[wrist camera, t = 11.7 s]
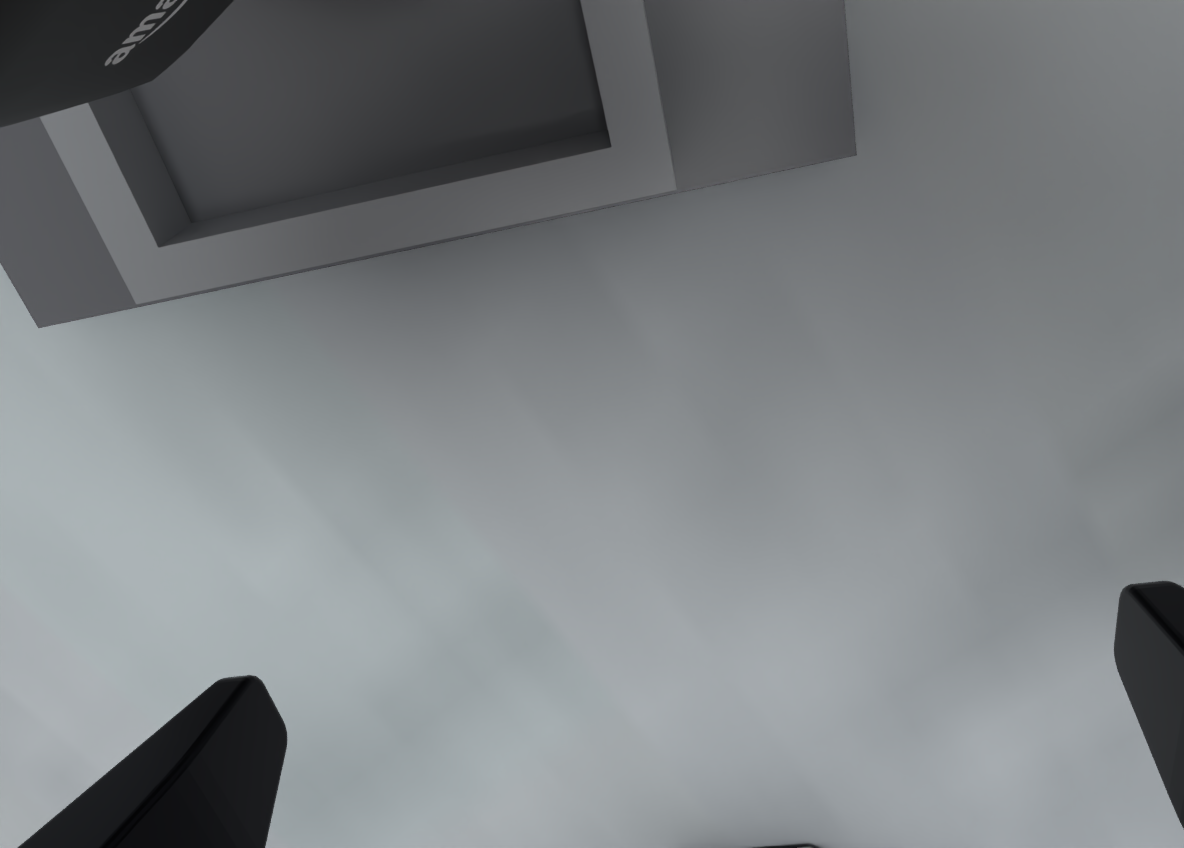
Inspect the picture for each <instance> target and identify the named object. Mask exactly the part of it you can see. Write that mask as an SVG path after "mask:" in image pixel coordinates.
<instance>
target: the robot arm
mask: <svg viewBox="0 0 1184 848" xmlns="http://www.w3.org/2000/svg"><path fill="white" fill-rule="evenodd" d="M1114 656H1115V662H1116V666H1117V669H1118V672H1119V675H1120V677H1121V680H1122V682H1123V685H1124V687H1125V690H1126V692H1127V695H1128V697H1129V700H1130V702H1131V704H1132V707H1133V709H1134V712H1135V714H1136V717H1137V719H1138V722H1139V724H1140V727H1141V729H1142V731H1143V734H1144V736H1145V739H1146V741H1147V744H1148V746H1149V749H1150V751H1151V754H1152V756H1153V758H1154V761H1155V763H1156V766H1157V768H1158V771H1159V773H1160V776H1161V778H1162V781H1163V783H1164V786H1165V788H1166V790H1167V793H1168V795H1169V798H1170V800H1171V802H1172V805H1173V807H1174V809H1175V811H1176V814H1177V816H1178V818H1179V821H1180V823H1181V825H1182V826H1183V828H1184V588H1183V587H1182V586H1180V585H1178V584H1176V583H1173V582H1170V581H1158V582H1148V583H1138V584H1130V585H1128V586H1126V587H1124V588H1123V590H1122V592H1121V594H1120V598H1119V606H1118V615H1117V624H1116V633H1115V642H1114ZM286 748H287V731H286V727H285V724H284V721H283V719H282V717H281V716H280V714H279V712H278V710H277V708H276V706H275V704H274V702H273V700H272V698H271V697H270V695H269V693H268V691H267V689H266V687H265V685H264V683H263V682H262V680H260V679H259V678H258V677H256V676H252V675H247V676H237V677H228V678H223V679H220V680H218V681H217V682H215V683H214V684H213V685H211V686H210V687H209V688H208V689H207V690H205V691H204V692H203V693H202V694H201V695H200V696H198V697H197V698H196V699H195V700H194V701H192V702H191V703H190V704H189V705H188V706H186V707H185V708H184V709H183V710H182V711H180V712H179V713H178V714H177V715H176V716H174V717H173V718H172V719H171V720H170V721H168V722H167V723H166V724H165V725H164V726H163V727H161V728H160V729H159V730H158V731H157V732H155V733H154V734H153V735H152V736H151V737H149V738H148V739H147V740H146V741H145V742H143V743H142V744H141V745H140V746H139V747H137V748H136V749H135V750H134V751H133V752H131V753H130V754H129V755H128V756H127V757H125V758H124V759H123V760H122V761H121V762H119V763H118V764H117V765H116V766H115V767H114V768H112V769H111V770H110V771H109V772H108V773H106V774H105V775H104V776H103V777H102V778H100V779H99V780H98V781H97V782H96V783H94V784H93V785H92V786H91V787H90V788H88V789H87V790H86V791H85V792H84V793H82V794H81V795H80V796H79V797H78V798H76V799H75V800H74V801H73V802H72V803H70V804H69V805H68V806H67V807H66V808H65V809H63V810H62V811H61V812H60V813H59V814H57V815H56V816H55V817H54V818H53V819H51V820H50V821H49V822H48V823H47V824H45V825H44V826H43V827H42V828H41V829H39V830H38V831H37V832H36V833H35V834H33V835H32V836H31V837H30V838H29V839H27V840H26V841H25V842H24V843H23V844H21V845H20V846H19V847H18V848H265V846H266V841H267V837H268V832H269V827H270V823H271V818H272V813H273V809H274V804H275V799H276V795H277V790H278V785H279V781H280V776H281V771H282V767H283V762H284V757H285V753H286Z"/></svg>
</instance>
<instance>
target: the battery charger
mask: <svg viewBox="0 0 1184 848" xmlns="http://www.w3.org/2000/svg"><path fill="white" fill-rule="evenodd" d="M233 1H234V0H0V128H1V127H5V126H9V125H12V124H16V123H20V122H23V121H27V120H30V119H34V118H37V117H41V116H44V115H48V114H52V113H55V112H58V111H62V110H65V109H68V108H71V107H75V106H78V105H81V104H85V103H88V102H91V101H95V100H98V99H101V98H104V97H108V96H111V95H114V94H117V93H120V92H123V91H126V90H129V89H131V88H134V87H137V86H140V85H142V84H145V83H148V82H151V81H153V80H154V79H155V78H156V77H158V76H159V75H160V74H161V73H163V72H164V71H165V70H166V69H167V68H168V67H169V66H171V65H172V64H173V63H174V62H175V61H176V60H177V59H178V58H179V57H181V56H182V55H183V54H184V53H185V52H186V51H187V50H188V49H189V48H190V47H191V46H192V45H193V44H194V43H195V41H196V40H197V39H198V38H199V37H200V36H201V35H202V34H203V33H204V32H205V31H206V30H207V29H208V28H209V26H210V25H211V24H212V23H213V22H214V21H215V20H216V19H217V18H218V17H219V16H220V15H221V14H222V13H223V12H224V11H225V9H226V8H227V7H228V6H229V5H230V4H231V3H232V2H233Z"/></svg>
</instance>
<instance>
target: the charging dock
mask: <svg viewBox="0 0 1184 848" xmlns="http://www.w3.org/2000/svg"><path fill="white" fill-rule="evenodd" d="M855 155H856V142H855V130H854V117H853V105H852V92H851V80H850V67H849V55H848V42H847V30H846V17H845V5H844V0H234V1H233V2H232V3H231V4H230V5H229V6H228V7H227V8H226V9H225V11H224V12H223V13H222V14H221V15H220V16H219V17H218V18H217V19H216V20H215V21H214V22H213V23H212V24H211V25H210V26H209V28H208V29H207V30H206V31H205V32H204V33H203V34H202V35H201V36H200V37H199V38H198V39H197V40H196V41H195V43H194V44H193V45H192V46H191V47H190V48H189V49H188V50H187V51H186V52H185V53H184V54H183V55H182V56H181V57H179V58H178V59H177V60H176V61H175V62H174V63H173V64H172V65H171V66H169V67H168V68H167V69H166V70H165V71H164V72H163V73H161V74H160V75H159V76H158V77H156V78H155V79H154V80H153V81H151V82H148V83H145V84H142V85H140V86H137V87H134V88H131V89H129V90H126V91H123V92H120V93H117V94H114V95H111V96H108V97H104V98H101V99H98V100H95V101H91V102H88V103H85V104H81V105H78V106H75V107H71V108H68V109H65V110H62V111H58V112H55V113H52V114H48V115H44V116H41V117H37V118H34V119H30V120H27V121H23V122H20V123H16V124H12V125H9V126H5V127H1V128H0V263H1V265H2V266H3V268H4V270H5V272H6V273H7V275H8V277H9V278H10V280H11V282H12V284H13V285H14V287H15V289H16V290H17V292H18V294H19V296H20V297H21V299H22V301H23V302H24V304H25V306H26V308H27V309H28V311H29V313H30V314H31V316H32V318H33V320H34V321H35V323H36V325H37V326H38V328H42V327H46V326H51V325H56V324H61V323H65V322H70V321H75V320H79V319H84V318H89V317H94V316H98V315H103V314H108V313H113V312H117V311H122V310H127V309H131V308H136V307H141V306H146V305H150V304H155V303H160V302H165V301H169V300H174V299H179V298H183V297H188V296H193V295H198V294H202V293H207V292H212V291H217V290H221V289H226V288H231V287H236V286H240V285H245V284H250V283H254V282H259V281H264V280H269V279H273V278H278V277H283V276H288V275H292V274H297V273H302V272H306V271H311V270H316V269H321V268H325V267H330V266H335V265H340V264H344V263H349V262H354V261H358V260H363V259H368V258H373V257H377V256H382V255H387V254H392V253H396V252H401V251H406V250H411V249H415V248H420V247H425V246H429V245H434V244H439V243H444V242H448V241H453V240H458V239H463V238H467V237H472V236H477V235H481V234H486V233H491V232H496V231H500V230H505V229H510V228H515V227H519V226H524V225H529V224H533V223H538V222H543V221H548V220H552V219H557V218H562V217H567V216H571V215H576V214H581V213H586V212H590V211H595V210H600V209H604V208H609V207H614V206H619V205H623V204H628V203H633V202H638V201H642V200H647V199H652V198H656V197H661V196H666V195H671V194H675V193H680V192H685V191H690V190H694V189H699V188H704V187H708V186H713V185H718V184H723V183H727V182H732V181H737V180H742V179H746V178H751V177H756V176H761V175H765V174H770V173H775V172H779V171H784V170H789V169H794V168H798V167H803V166H808V165H813V164H817V163H822V162H827V161H831V160H836V159H841V158H846V157H850V156H855Z"/></svg>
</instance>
